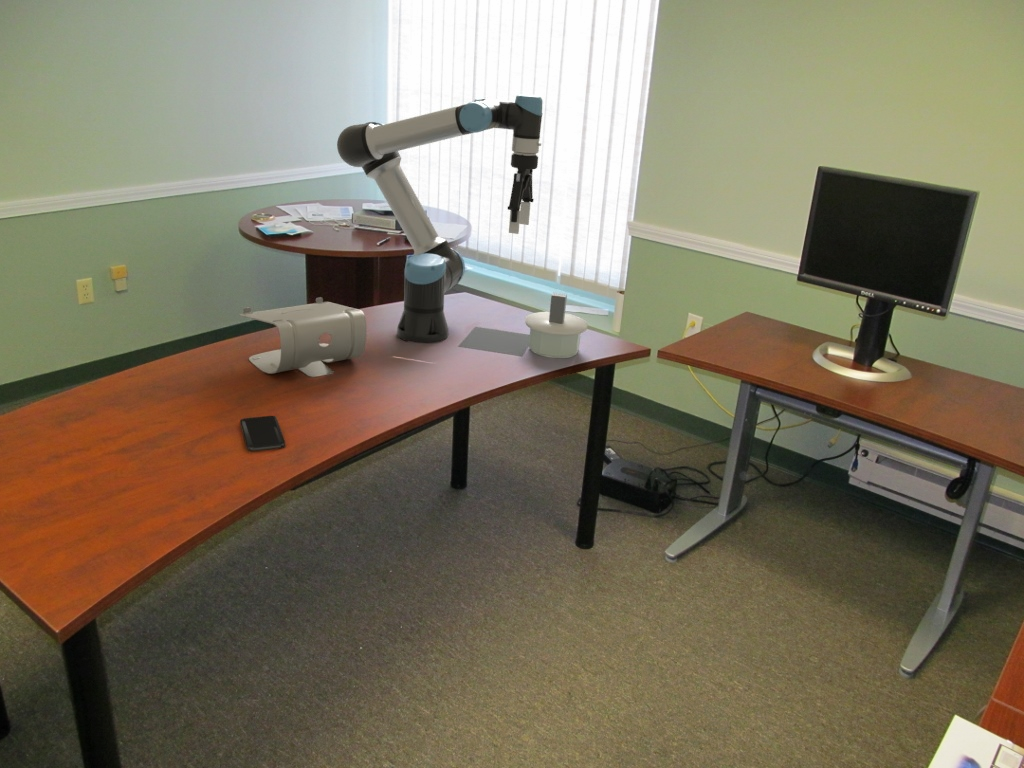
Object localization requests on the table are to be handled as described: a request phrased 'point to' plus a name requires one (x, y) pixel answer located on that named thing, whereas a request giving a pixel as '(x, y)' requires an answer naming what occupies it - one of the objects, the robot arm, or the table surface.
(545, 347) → the bowl
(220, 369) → the table surface
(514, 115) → the robot arm
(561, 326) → the lid
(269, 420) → the phone
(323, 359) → the portable electronic device stand
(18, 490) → the table surface
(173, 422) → the table surface
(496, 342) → the mat
